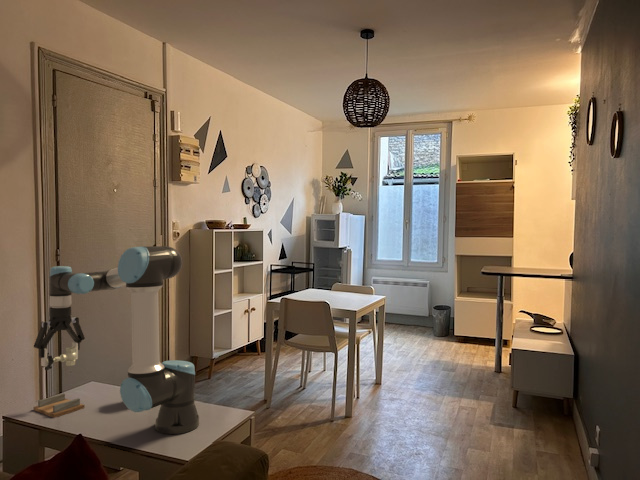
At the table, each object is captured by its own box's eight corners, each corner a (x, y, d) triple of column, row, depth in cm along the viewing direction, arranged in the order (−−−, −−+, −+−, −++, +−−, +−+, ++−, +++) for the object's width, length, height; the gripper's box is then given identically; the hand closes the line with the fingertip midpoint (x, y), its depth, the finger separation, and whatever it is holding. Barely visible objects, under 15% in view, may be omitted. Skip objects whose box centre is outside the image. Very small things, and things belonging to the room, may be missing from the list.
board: (84, 408, 190) (84, 398, 190) (54, 417, 180) (54, 407, 180) (63, 400, 197) (63, 391, 197) (33, 410, 187) (33, 400, 187)
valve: (70, 362, 195) (40, 369, 185) (71, 345, 195) (40, 351, 185) (80, 364, 192) (50, 371, 181) (80, 348, 192) (50, 354, 181)
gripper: (83, 301, 200) (82, 354, 200) (23, 309, 180) (22, 367, 180) (94, 303, 196) (94, 357, 196) (34, 311, 176) (33, 371, 176)
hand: (59, 362), depth 188 cm, fingers closed on valve, 11 cm apart
